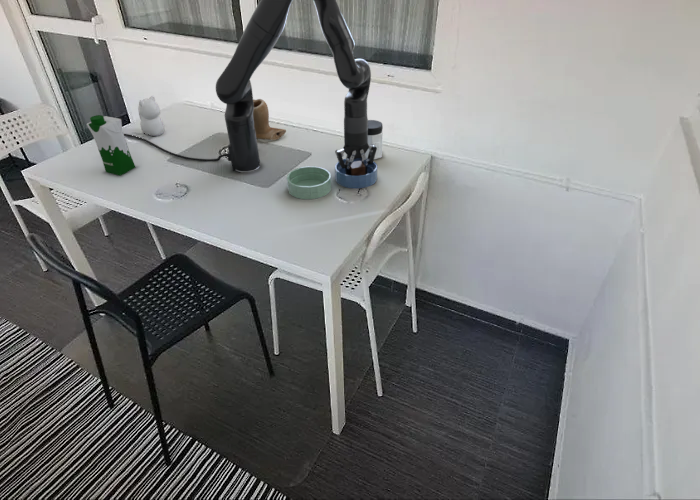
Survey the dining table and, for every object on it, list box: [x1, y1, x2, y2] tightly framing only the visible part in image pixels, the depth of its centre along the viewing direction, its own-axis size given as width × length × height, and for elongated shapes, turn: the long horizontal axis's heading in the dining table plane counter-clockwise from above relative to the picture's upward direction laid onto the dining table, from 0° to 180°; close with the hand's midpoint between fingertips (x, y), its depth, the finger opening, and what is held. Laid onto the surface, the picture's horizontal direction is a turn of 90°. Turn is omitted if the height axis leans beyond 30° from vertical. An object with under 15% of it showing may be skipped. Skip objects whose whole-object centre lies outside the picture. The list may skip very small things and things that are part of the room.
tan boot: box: [253, 98, 287, 141], centre depth 178 cm, size 15×12×15 cm
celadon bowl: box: [286, 165, 332, 200], centre depth 146 cm, size 14×14×5 cm
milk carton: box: [86, 114, 136, 177], centre depth 155 cm, size 9×9×20 cm
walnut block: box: [350, 161, 365, 176], centre depth 151 cm, size 5×5×5 cm
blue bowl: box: [334, 158, 378, 189], centre depth 151 cm, size 14×14×5 cm
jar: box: [365, 119, 384, 160], centre depth 164 cm, size 9×8×12 cm
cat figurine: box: [137, 95, 165, 137], centre depth 183 cm, size 9×12×15 cm
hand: (356, 176), depth 152 cm, fingers closed on walnut block, 4 cm apart
